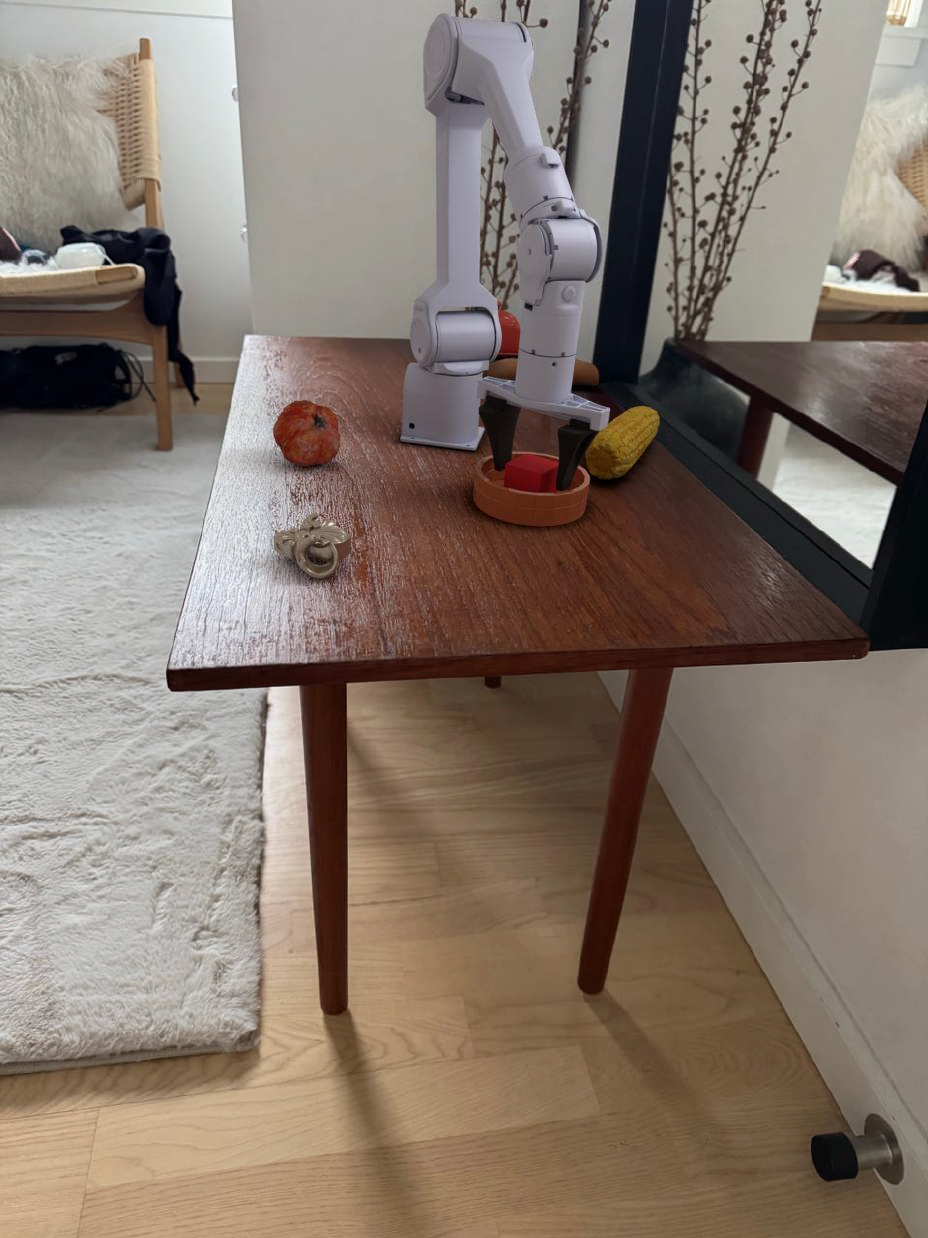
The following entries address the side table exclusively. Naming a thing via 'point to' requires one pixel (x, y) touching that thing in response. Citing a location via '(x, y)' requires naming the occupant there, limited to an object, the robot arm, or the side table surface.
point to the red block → (531, 474)
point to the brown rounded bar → (508, 367)
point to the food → (622, 442)
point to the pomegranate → (307, 433)
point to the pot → (528, 497)
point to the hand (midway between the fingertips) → (532, 478)
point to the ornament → (314, 545)
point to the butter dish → (508, 334)
